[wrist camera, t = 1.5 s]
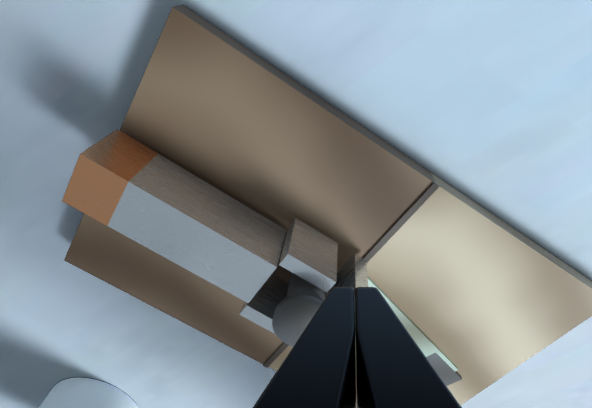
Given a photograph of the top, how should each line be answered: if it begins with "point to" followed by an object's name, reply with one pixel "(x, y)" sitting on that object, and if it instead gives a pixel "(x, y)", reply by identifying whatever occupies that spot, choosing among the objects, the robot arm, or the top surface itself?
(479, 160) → the top surface
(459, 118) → the top surface
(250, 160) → the door-edge board
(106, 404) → the cylindrical container
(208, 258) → the swing bar
